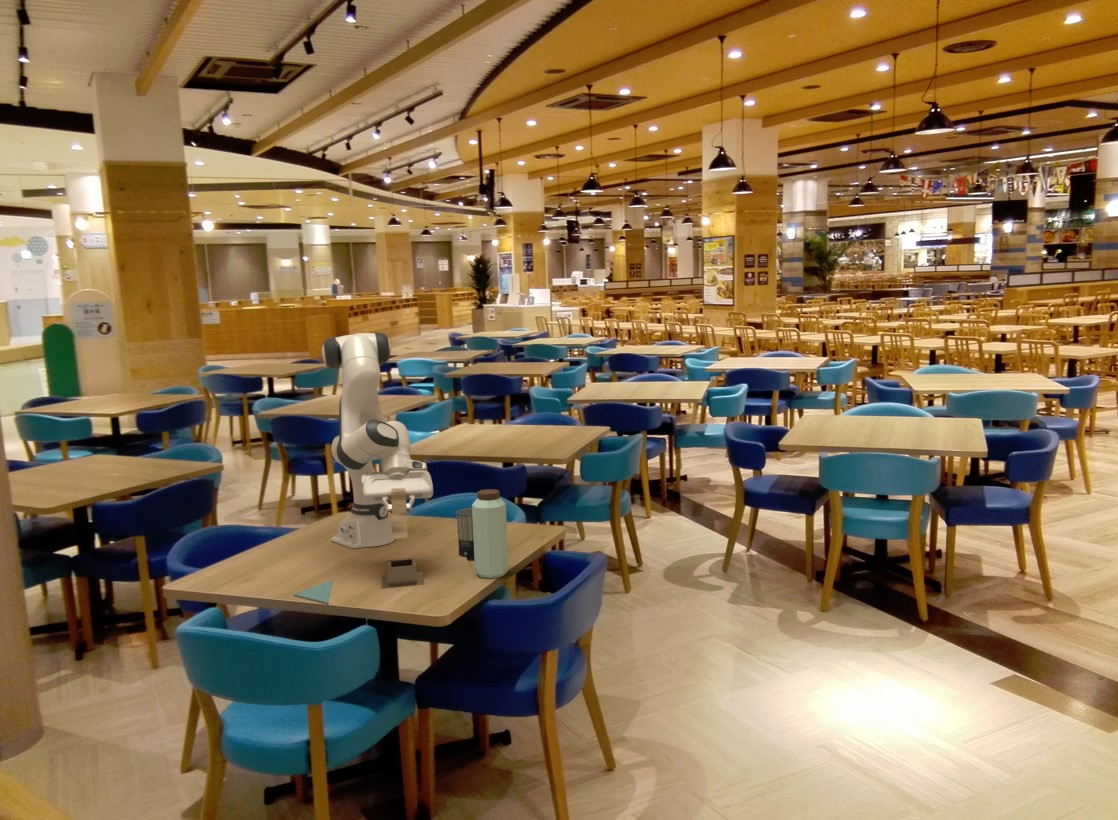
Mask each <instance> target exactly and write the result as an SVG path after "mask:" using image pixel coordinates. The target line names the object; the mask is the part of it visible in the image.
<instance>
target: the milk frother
mask: <svg viewBox="0 0 1118 820" xmlns="http://www.w3.org/2000/svg"><path fill="white" fill-rule="evenodd" d="M454 513H455V515H456V524H457V525H456V526H457V527H456V528H457V540H458V541H457V542H458V556H460V557H462V558H466V560H467V561H475V558H474V538H473V517H472V507H469V508H468V507H467V508H462V509H458V510H456V511H455V512H454Z"/></svg>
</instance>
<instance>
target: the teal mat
mask: <svg viewBox="0 0 1118 820" xmlns="http://www.w3.org/2000/svg"><path fill="white" fill-rule="evenodd" d="M333 582H334V579H330V580H327V581H324V582H323V583H319V584H317V585H314V586H312V587H309V588H306V589H304V590H301V591H299V592H295V593H293V597H297V598H300V597H301V599H305V600H309V601H312V602H317V603H321V604H324V603H325V605H329V602H330V597H331V592H332V587H333Z"/></svg>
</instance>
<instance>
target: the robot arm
mask: <svg viewBox="0 0 1118 820" xmlns="http://www.w3.org/2000/svg"><path fill="white" fill-rule="evenodd" d="M391 354H392V344H391V341H390V339H389V338H388V336H387V334H386V333H383V332H379V331H378V332H372V333H371V332H359V333H354V334H347V335H346V334H345V335H342V336H332V337H329V338H326V339H325V340H324V342H323V344H322V347H321V357H322V360H323V363H324V364H325V365H326V367H327V368H329V369H331V370H341V369H342V388H341V389H342V390H341V394H340V399H339V406H338V407H339V408H338V411H339V413H338V416H339V417H338V418H339V419H338V423H339V425H338V427H339V429H338V430H339V434H338V435H337V436H335V437H334V439H333V440H332V443H331V449H330V450H331V454H332V457H333V459H334V460H335V461H336V462H337V463H338V464H339V465H341V466H343V467H344V468H345V470H346V471H347V473H348V474H349V477H350V480H351V484H352V485H351V486H352V492H353V502H350V503H348V505H349V506H348V508H351V509H350V513H348V514H347V515H346V516H345V517H344V518H343V519H342V520H341V521H340V522H339V523H338V527H337V534H336V535H333V536H332V537H331V539H330V540H331V542H333V543H336V544H338V545H341V546H345V547H348V548H350V549H359V548H372V547H373V548H374V547H378V546H380V547H381V546H385V545H387V544H390V543H391V544H392V543H393V542H394V540H395V539H393V525H392V521H391V520H392V519H391V515H390V513H392V504H390V502H389V501H392V497H391V489H393V488H405V489H406V500H409V502H408V503H406V510H407V512H412V506H413V505H414V503H415V500H416V499H417V500H418V499H430V498H432V497H433V495H434V485H433V481H432V475H431V473H430V472H429V471H428V466H427V463H425V462H422V461H419V460H414V459H412V457H411V456H410V455H411V451H412V450H411V440H410V435H409V432H408V428H407V427H406V425H405V424H404V423H403V422H400V421H398V420H389V421H388V420H386V418H385V417H384V415H383V414H384V413H383V412H382V408H381V406H380V405H381V404H380V401H379V399H380V398H379V392H378V388H379V385H380V383H381V367H382V366H383V365H384V364H386V363H388V361H389V360H390V358H391ZM376 460H381V470H380V471H377V470H375V469H374V466H373V461H376Z"/></svg>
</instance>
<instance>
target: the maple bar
mask: <svg viewBox="0 0 1118 820" xmlns="http://www.w3.org/2000/svg"><path fill="white" fill-rule="evenodd" d="M391 497H392V500H391V505H392V512H391V515H392V516H391V517H392V519H391V520H392V521H391V522H392V532H393V539H394V540H404V539H408V538H409V537H408V519H407V518H408V515H407V513H408V511H407V510H406V504H407V499H406V489H405V488H393V489H391Z"/></svg>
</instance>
